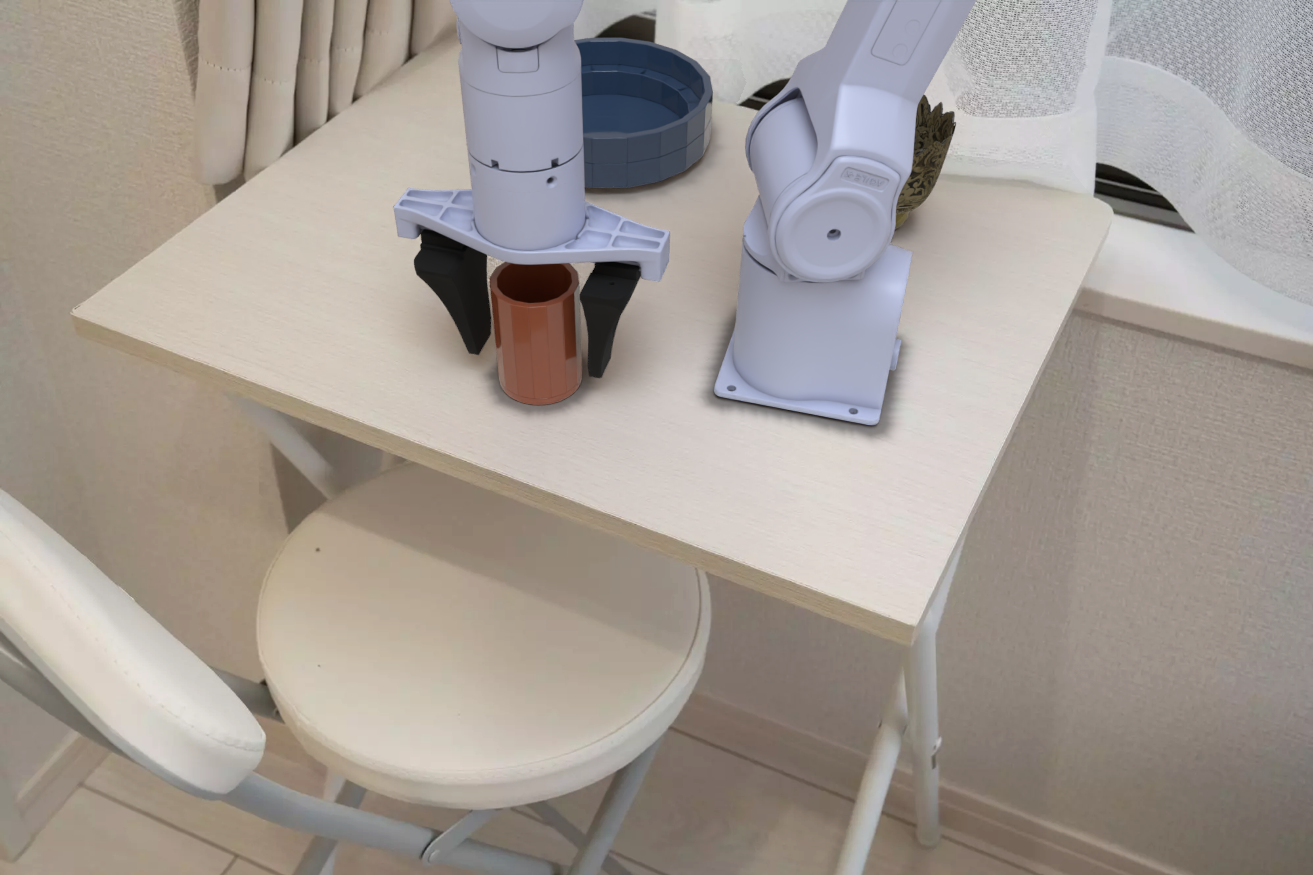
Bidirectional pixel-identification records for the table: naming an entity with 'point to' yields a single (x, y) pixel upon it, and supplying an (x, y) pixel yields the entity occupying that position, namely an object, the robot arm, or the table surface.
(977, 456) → the table surface
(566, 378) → the cup
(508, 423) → the table surface
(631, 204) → the table surface
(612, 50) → the bowl
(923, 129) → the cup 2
